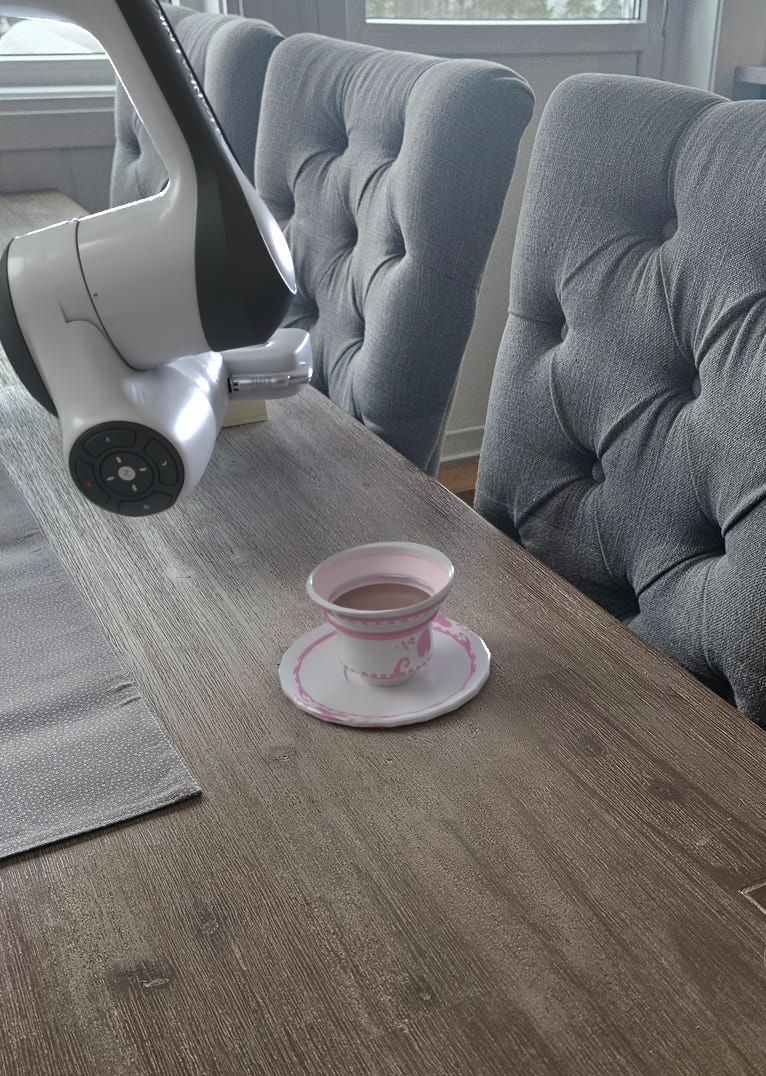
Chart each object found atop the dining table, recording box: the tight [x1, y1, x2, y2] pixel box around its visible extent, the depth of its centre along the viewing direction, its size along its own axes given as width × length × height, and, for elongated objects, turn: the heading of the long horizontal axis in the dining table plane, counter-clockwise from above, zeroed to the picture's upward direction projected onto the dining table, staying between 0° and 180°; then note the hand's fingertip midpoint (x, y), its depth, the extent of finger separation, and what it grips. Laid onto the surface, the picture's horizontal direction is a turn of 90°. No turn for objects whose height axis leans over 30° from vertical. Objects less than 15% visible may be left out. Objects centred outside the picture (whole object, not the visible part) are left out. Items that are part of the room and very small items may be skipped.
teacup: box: [277, 541, 491, 728], centre depth 62 cm, size 12×12×6 cm
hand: (195, 336), depth 94 cm, fingers open, 8 cm apart
